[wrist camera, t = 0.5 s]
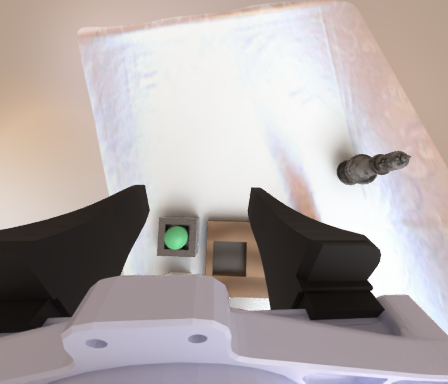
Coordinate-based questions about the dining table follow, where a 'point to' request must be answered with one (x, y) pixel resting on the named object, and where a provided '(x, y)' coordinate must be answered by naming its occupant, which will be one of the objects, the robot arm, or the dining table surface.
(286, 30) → the dining table surface
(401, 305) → the robot arm
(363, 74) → the dining table surface
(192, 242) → the button box
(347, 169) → the salt shaker
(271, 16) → the dining table surface
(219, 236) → the wooden socket board
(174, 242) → the button
